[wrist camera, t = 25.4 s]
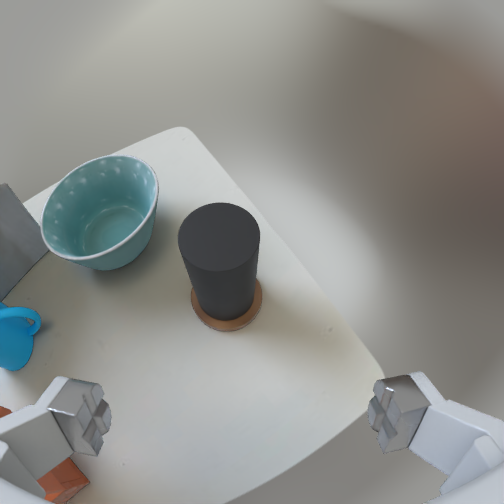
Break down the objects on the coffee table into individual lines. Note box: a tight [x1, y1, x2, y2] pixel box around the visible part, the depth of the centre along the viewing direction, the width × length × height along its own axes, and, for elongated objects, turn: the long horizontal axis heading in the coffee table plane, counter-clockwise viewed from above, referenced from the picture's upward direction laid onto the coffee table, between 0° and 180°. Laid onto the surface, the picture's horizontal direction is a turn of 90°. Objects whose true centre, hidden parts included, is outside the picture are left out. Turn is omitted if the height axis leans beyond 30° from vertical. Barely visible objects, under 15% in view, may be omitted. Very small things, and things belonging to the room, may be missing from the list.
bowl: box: [40, 155, 159, 270], centre depth 34 cm, size 16×16×8 cm
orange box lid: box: [0, 406, 64, 495], centre depth 14 cm, size 12×10×4 cm
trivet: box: [191, 278, 262, 331], centre depth 34 cm, size 8×8×1 cm
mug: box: [0, 302, 41, 371], centre depth 26 cm, size 12×8×8 cm
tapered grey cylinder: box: [178, 203, 260, 321], centre depth 28 cm, size 6×6×12 cm
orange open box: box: [12, 412, 90, 504], centre depth 19 cm, size 12×10×6 cm
